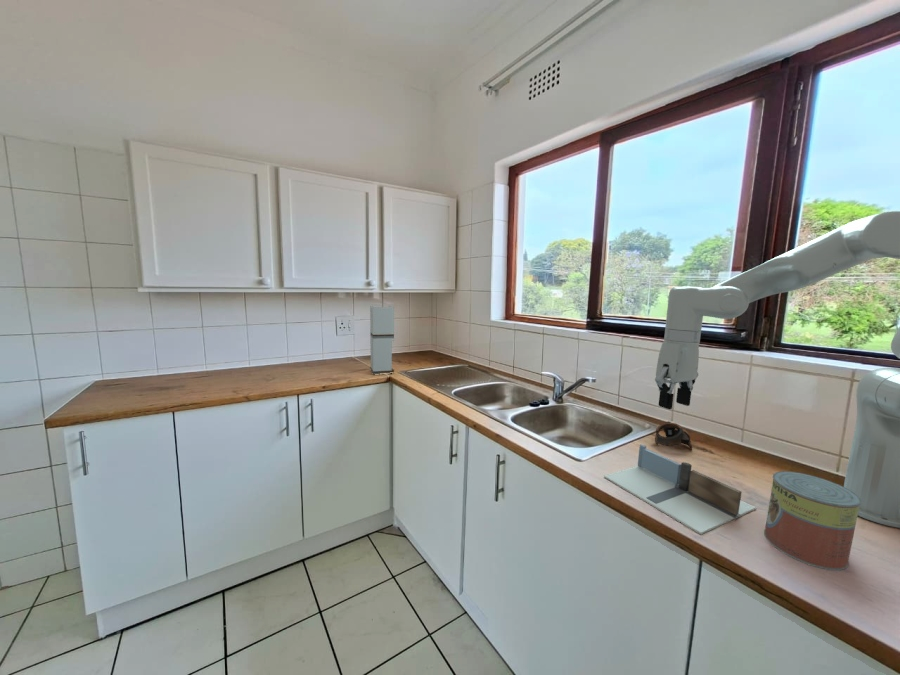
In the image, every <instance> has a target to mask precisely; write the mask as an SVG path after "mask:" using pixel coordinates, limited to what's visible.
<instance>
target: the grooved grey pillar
mask: <svg viewBox="0 0 900 675" xmlns="http://www.w3.org/2000/svg"><path fill="white" fill-rule="evenodd" d="M369 311H370V312H369V314H370V316H369V319H370V321H369V323H370V324H369V325H370V328H369V329H370V333H369V334H370V335H369V336H370V372H371V371H372V372H371V374H372V373H373V374H380V373H390V372H394V373H395V370H394V369H393V365H392V364H393V363H392V362H393V361H392V360H393V359H392V358H393V353H392V352H393V349H392V346H393V345H392V344H393V343H392V342H393V341H395V307H393V306H391V305H388V306H387V307H386V306H385V307H384V306H383V307H382V306H381V307H379V306H373V305H370V308H369ZM373 374H372V375H373Z"/></svg>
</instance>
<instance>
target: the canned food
mask: <svg viewBox="0 0 900 675" xmlns="http://www.w3.org/2000/svg"><path fill="white" fill-rule="evenodd" d="M772 478H773V479H772V485H771V492H770V497H769V503H768V509H767V516H766V521H765V522H766V523H765V528H764V530H763V535H764V537H765V539H766V540H767V541H768V542H769V544H771V545H772V546H773V547H774V548H775V549H777V550H779V551H780V552H782V553H783V554H785V555H786V556H788V557H791V558H792V559H795V560H796V561H799V562H801V563H804V564H806V565H809V566H812V567H815V568H819V569H822V570H827V571H828V570H830V571H843V570H846V569H847V568H848V567H849V563H850V562H849V560H850V555H851V550H852V545H853V540H854V535H855V529H856V525H857V519H858V517H859V516H858V511H859V506H860V504H861V499H860V498H859V497H858V496H857V495H856V494H855V493H853V492H852V491H850V490H849V489H847V488H845V487H844V485H843V486H842V485H840V484H838V483H836V482H834V481H831V480H828V479H825V478H822V477H819V476H815V475H812V474H808V473H803V472H797V471H789V470H785V471H777V472H774V473H773V474H772Z"/></svg>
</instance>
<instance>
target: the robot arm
mask: <svg viewBox="0 0 900 675" xmlns="http://www.w3.org/2000/svg"><path fill="white" fill-rule="evenodd" d="M880 258H889V259H895V260H900V211H897V210H893V211H884V212H880V213H877V214H872V215H869V216H867V217H862V218H859V219H856V220H853V221H851V222H848V223H846V224H844V225H841V226H839V227H837V228H836V229H833V230H831V231H828V232H827V233H825V234H823V235H821V236H818V237H816V238H814V239H812V240H810V241H808V242H806V243H804V244H802V245H799V246H797V247H795V248H793V249H791V250H788V251H787V252H784V253H782V254H780V255H778V256H775V257H774V258H771V259H770V260H766V261H765V262H764V263H761V264H760V265H757V266H755V267H753V268H751V269H748V270H747V271H746V270H745V271H744V272H742V273H739V274H737V275H735V276H732V277H731V278H729V279H726V280H724V281H722V282H719V283H717V284H716V285H714V286H712V287H700V286H674V287H672V288H671V289H670V290H669V293H668V300H667V301H668V302H667V310H666V319H665V329H664V337H663V341H662V343H661V346H660V350H659V353H658V359H657V363H656V370H655V378H654V381H655V383H656V384H657V387H658V392H659V398H658V407H661V408H662V409H663V408H664V409H666V410H673V404H674V403H673V402H674V397H675V396H674V394H675V393H673V391H674V388H675V385H676V384H679V385H678V387H677V392H676V398H675V399H676V400H675V402H676V403H677V404H679V405H683V406H686V407H688V406H691V398H692V391H693V389H694V385H695V383H696V380H697V378H698V376H699V372H698V370H699V369H698V368H699V361H700V360H699V358H700V357H699V355H700V354H699V352H700V349H699V348H700V347H699V345H700V342H701V334H702V328H703V320H704V319H703V318H704V317H709V318H717V319H722V320H730V319H734V318H735V319H736V318H737V317H739V316H742V315H743V314H744V313H745V312H746V311H747V309H748V307H749V304H750V303H753V302H755V301H757V300H761V299H764V298H766V297H771V296H774V295H777V294H783V293H789V292H793V291H797V290H800V289H804V288H807V287H810V286H811V285H814V284H816V283H818V282H821V281H822V280H825V279H828V278H829V277H833V276H835V275H836V274H839V273H841V272H844V271H846V270H848V269H851V268H854V267H855V266H857V265H860V264H862V263H865V262H868V261H871V260H872V259H880ZM890 349H891V352H892V353H893V355H894V356H896V357H897V359H900V326H899V328H898V329H897V331H896V332H895V334H894V336H893V337H892V340H891V343H890ZM668 379H669V380H668ZM668 384H669V386H668ZM847 462H848V463H847V468H846V474H845V478H844V483H843V487H845V488H847V489H849V490H850V491H852V492H853V493H855V494H856V495H857V496H858V497H859V498H860V499H861V504H860V506H859V511H858V516H857V517H860V518H862V519H865V520H868V521H871V522H874V523H877V524H881V525H883V526H888V527H893V528H898V529H900V368H899V367H882V368H877V369H874V370H871V371H869V372H868V373H866V374H865V375H863V376H862V377H861V379H860V380H859V382H858V384H857V387H856V420H855V426H854V433H853V436H852V441H851V446H850V452H849V458H848V461H847Z"/></svg>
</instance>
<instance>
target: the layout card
mask: <svg viewBox="0 0 900 675" xmlns="http://www.w3.org/2000/svg"><path fill="white" fill-rule="evenodd" d="M603 478H604V479H606V480H608V481H609V482H611V483H613V484H615V485H616V486H618V487H620V488H621V489H624V491H626V492H628V493H630V494H631V495H634V496H635V497H636V498H638V499H640V500H642V501H643V502H645V503H646V504H648V505H650V506H652V507H653V508H655V509H657V510H658V511H660V512H662V513H664V514H665V515H667V516H669V517H670V518H672V519H673V518H674V520H675V521H677V522H679V523H680V522H681V523H680V524H682V525H684V526H686V527H687V528H688V529H691V531H694V532H696V533H697V534H699V535H703V534H705V533H707V532H709V531H712V530H714V529H717V528H718V527H720V526H722V525H725V524H726V523H729V522H731V521H734V520H736V519H737V518H739V517H742V516H744V515H746V514H748V513H751V512H752V511H754V510H756V509H757V508H756V506H754V505H751V504H749V503H748V502H745V501H743V500H740V506H739V513H738V514H737V515H735V514H733V513H731V512H729V511H727V510H725V509H723V508H721V507H719V506H717V505H715V504H713V503H711V502H709V501H707V500H705V499H703V498H701V497H699V496H697V495H695V494H693V493H691V492H689V490H688V491H683V490H681V489H679V484H678V485H675V484H673V483H671V482H669V481H667V480H665V479H664V478H662V477H660V476H658V475H656V474H654V473H652V472H650V471H648V470H646V469H644V468H642V467H639V466H638V465H636V466H634V467H630V468H626V469H622V470H619V471H615V472H612V473H609V474H606V475H603Z"/></svg>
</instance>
